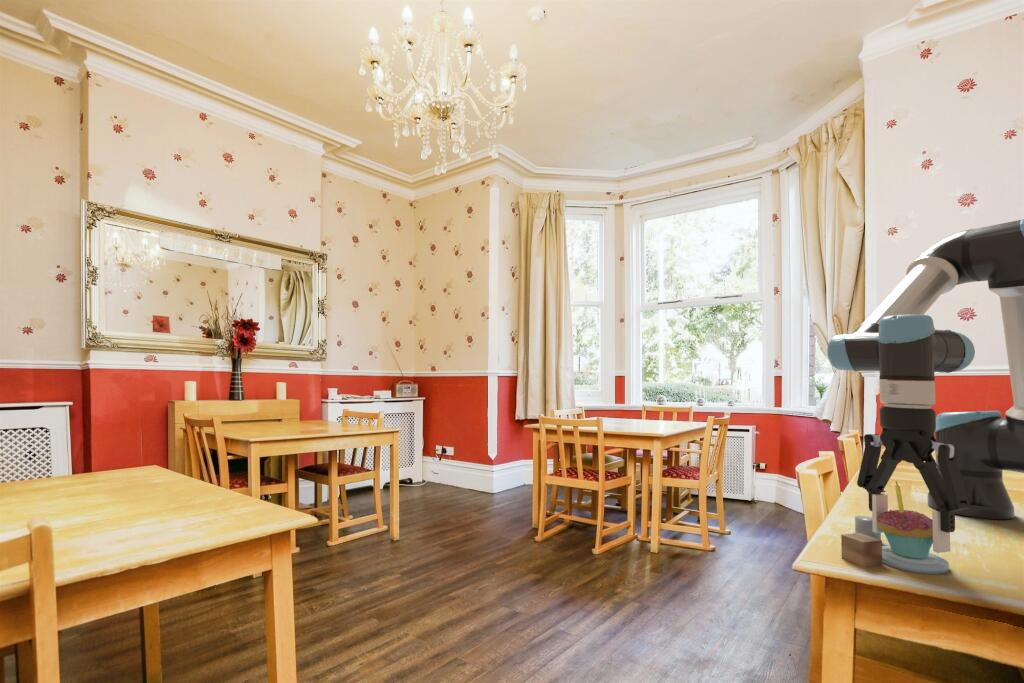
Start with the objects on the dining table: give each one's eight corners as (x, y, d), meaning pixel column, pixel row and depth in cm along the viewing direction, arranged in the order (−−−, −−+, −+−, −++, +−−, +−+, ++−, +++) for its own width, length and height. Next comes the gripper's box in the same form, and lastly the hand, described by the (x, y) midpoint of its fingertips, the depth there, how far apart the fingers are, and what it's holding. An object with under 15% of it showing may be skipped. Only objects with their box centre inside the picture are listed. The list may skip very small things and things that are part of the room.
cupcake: (922, 564, 81) (916, 486, 82) (866, 549, 88) (862, 478, 90) (953, 558, 84) (947, 482, 85) (897, 544, 92) (892, 475, 93)
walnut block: (859, 556, 89) (859, 532, 89) (882, 565, 85) (881, 540, 85) (841, 558, 88) (841, 534, 88) (863, 567, 84) (863, 542, 84)
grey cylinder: (866, 536, 100) (865, 515, 100) (886, 543, 96) (885, 521, 96) (850, 537, 99) (849, 516, 99) (870, 544, 95) (869, 522, 95)
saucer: (901, 549, 92) (901, 542, 92) (964, 571, 83) (964, 563, 83) (859, 554, 89) (858, 547, 89) (919, 577, 80) (919, 569, 80)
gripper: (832, 401, 97) (833, 523, 96) (964, 411, 76) (968, 567, 75) (862, 401, 99) (864, 520, 98) (999, 411, 78) (1003, 563, 77)
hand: (909, 541), depth 86 cm, fingers open, 9 cm apart
